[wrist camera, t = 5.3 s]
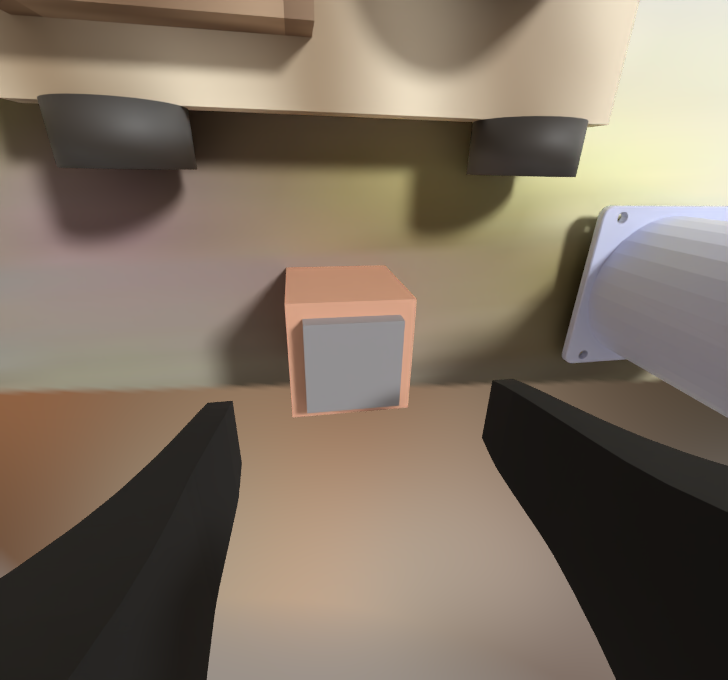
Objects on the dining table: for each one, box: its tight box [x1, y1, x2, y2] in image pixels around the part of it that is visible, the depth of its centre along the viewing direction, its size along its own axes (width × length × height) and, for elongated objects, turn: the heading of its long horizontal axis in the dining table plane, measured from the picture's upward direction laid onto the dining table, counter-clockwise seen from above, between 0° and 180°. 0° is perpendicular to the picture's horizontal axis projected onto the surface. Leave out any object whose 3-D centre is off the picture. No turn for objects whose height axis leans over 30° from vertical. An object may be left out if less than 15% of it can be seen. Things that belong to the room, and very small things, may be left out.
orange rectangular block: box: [285, 266, 417, 417], centre depth 16 cm, size 4×4×6 cm
